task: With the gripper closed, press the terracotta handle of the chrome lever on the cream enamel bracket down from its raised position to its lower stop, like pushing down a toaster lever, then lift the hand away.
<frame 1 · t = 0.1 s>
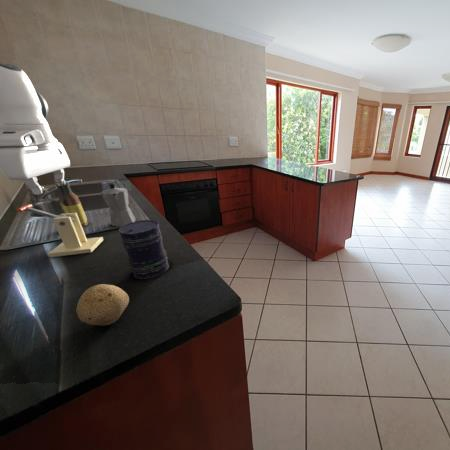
hand: (51, 189, 66), 25 cm above the counter, tool pointing down, fingers open, 8 cm apart
potato: (109, 322, 55), on the counter
coffeepot: (124, 222, 109), on the counter
bracket: (78, 248, 86), on the counter
sauce bottle: (79, 226, 105), on the counter
storage jar: (151, 270, 74), on the counter
lever: (48, 214, 80), point 14 cm above the counter, hinge at 30.0°
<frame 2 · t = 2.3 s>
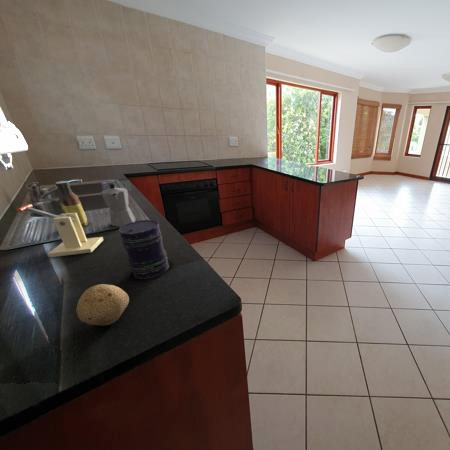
hand: (6, 169, 72), 29 cm above the counter, tool pointing down, fingers closed
nothing on the counter moved.
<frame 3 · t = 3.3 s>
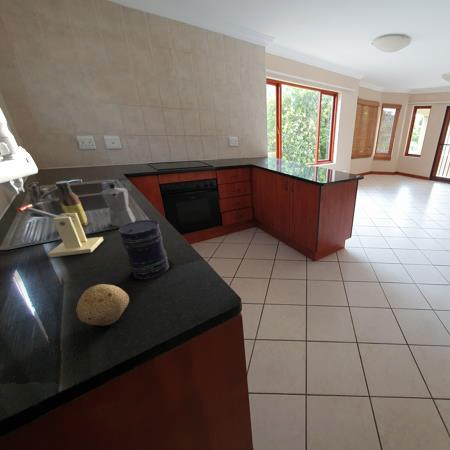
hand: (18, 193, 75), 21 cm above the counter, tool pointing down, fingers closed
nothing on the counter moved.
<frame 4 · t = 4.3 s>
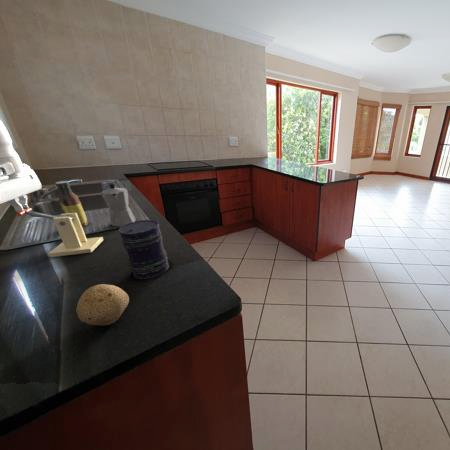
hand: (22, 210, 77), 16 cm above the counter, tool pointing down, fingers closed, pressing on lever
lever: (47, 216, 80), point 13 cm above the counter, hinge at 22.5°, touching gripper
everything else where it was.
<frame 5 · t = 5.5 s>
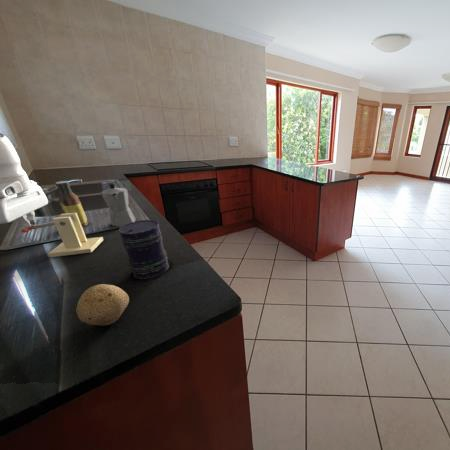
hand: (30, 225, 80), 10 cm above the counter, tool pointing down, fingers closed, pressing on lever
lever: (49, 224, 81), point 10 cm above the counter, hinge at -8.5°, touching gripper
everything else where it was.
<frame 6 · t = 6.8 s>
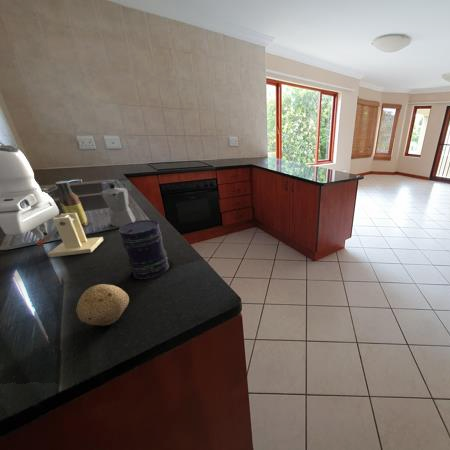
hand: (42, 236, 82), 6 cm above the counter, tool pointing down, fingers closed, pressing on lever
lever: (56, 229, 82), point 8 cm above the counter, hinge at -37.1°, touching gripper
everything else where it was.
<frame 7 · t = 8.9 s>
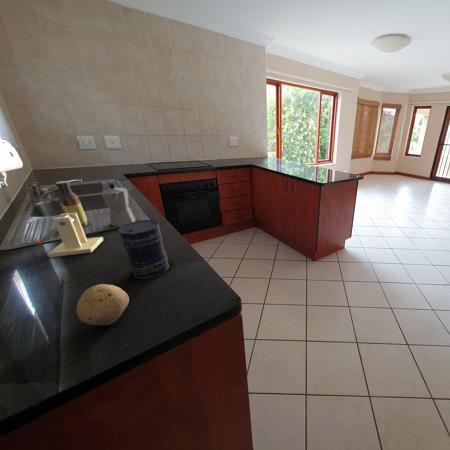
hand: (0, 187, 74), 23 cm above the counter, tool pointing down, fingers closed
lever: (55, 229, 82), point 8 cm above the counter, hinge at -35.7°
everything else where it was.
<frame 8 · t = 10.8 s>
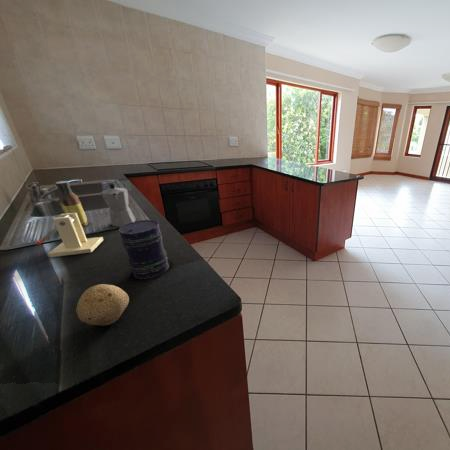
nothing on the counter moved.
at the end: lever at -36° (first picture: +30°) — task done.
